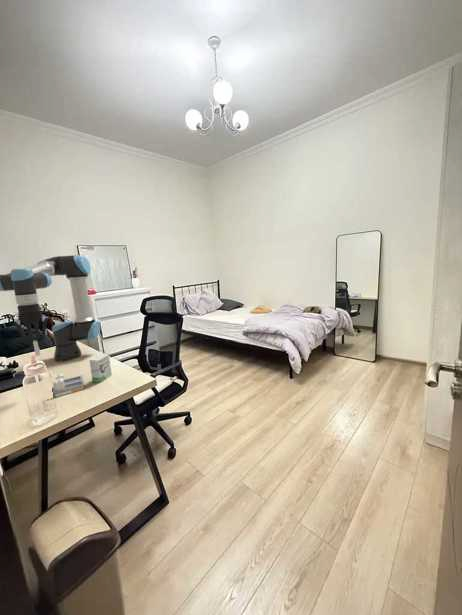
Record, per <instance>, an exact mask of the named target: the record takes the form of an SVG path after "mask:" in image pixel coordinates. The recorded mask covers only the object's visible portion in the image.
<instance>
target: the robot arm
mask: <svg viewBox="0 0 462 615" xmlns="http://www.w3.org/2000/svg"><path fill="white" fill-rule="evenodd" d="M91 271H92V270H91V264H90V262H89V260H88V259H87V258H86V257H85V255H79V254H78V255H76V254H75V255H62V256H61V255H58V256H53V257H50V258H46V259H44V260H40V261H38V262H37V263H36V264H34V265H32V266H31V265H30V266H28V267H24V268H13V269H11V270H10V273H7V274H0V292H8V291H13V292H14V297H15V302H16V305H17V311H18V318H17V320H14V321H13V322H12V325H13V326H14V327H15V328H16V329H17V331H18V333H19V335H20V336H21V337H22V339H23V342H25V343H29V344H30V345H29V346H30V348H31V349H32V350H34V354H35V356H36V357H38V356H41V350H40V348H42V346H43V345H42V340H44V339H45V338H46V331H47V323H48V321H49V316H44V315H43V313H42V312H41V308H40V304H39V303H38V302H39V297H38V293H37V290H40V289H46V288H49V287H50V286H51V284H52V282H53V281H52V280H53V279H52V276H66V279H67V280H68V281H69V282H70V289H71V294H72V299H73V307H74V310H75V317H76V319H75V320H67V321H64V322H63V321H62V322H58V323H56V324H54V325H53V326H52V327H51V330H52V336H53V340H54V345H55V348H54V349H55V350H54V354H53V359H54V361H55V362H66V361H70V360H74V359H76V358H79V357H81V355H82V350H81V348H80V347H79V345H78V344H77V341H78V342H79V341H91V340H95V339H97V338H98V337H99V335H100V330H101V325H100V324H101V323H100V322H99V321H98V320H96V318H95V317H94V316H92V309H91V304H90V297H89V292H88V284H87V279H88V277H89V275H90V273H91ZM41 319H42V320H41ZM40 320H41V321H42V322H43V323H42V330H41V334H40V330H39V322H41V321H40ZM21 323H22V324H24V325H25V326H26V330H27V335H28V336H27V335H26V333H25V331H24V328H23V327H22V325H21ZM32 325H33V327H34V332H35V336H36V340H34V335H33V330H32Z"/></svg>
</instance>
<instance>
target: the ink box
mask: <svg viewBox="0 0 462 615" xmlns="http://www.w3.org/2000/svg"><path fill="white" fill-rule="evenodd" d="M89 366H90V373H91V381H92V383H102V382H104V381H106V379H108V378H110V377H111V376H112V375H113V374H112V367H111V360H110V354H105V353H100V354H98V355H96V356H95V357H92V358H90V360H89Z"/></svg>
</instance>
